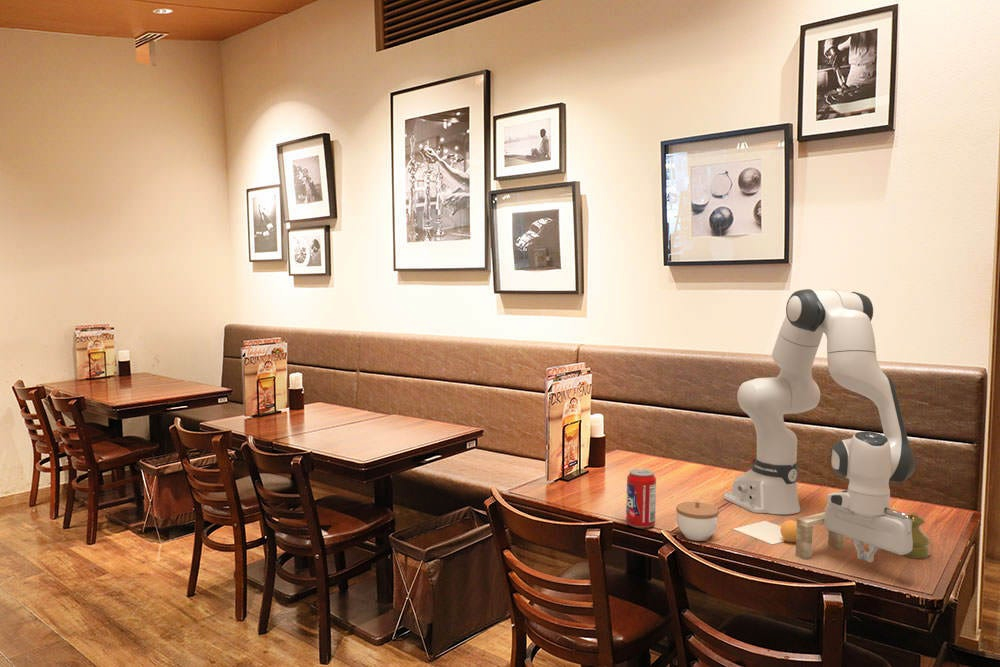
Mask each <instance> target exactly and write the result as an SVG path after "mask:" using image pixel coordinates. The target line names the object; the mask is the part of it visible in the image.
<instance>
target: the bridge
mask: <svg viewBox="0 0 1000 667" xmlns="http://www.w3.org/2000/svg"><path fill="white" fill-rule="evenodd" d="M824 516H825V511H824V512H820V513H815V514H811V515H807V516H803V517H800V518H797V519H796V522H797V533H796V542H795V556H796V557H798V558H801V559H802V560H807V561H808V560H810V559H812V556H813V555H812V554H813V532H814V529H813V527H815V526H818V525H823V524H824ZM827 531H828V535H827V547H829V548H832V549H835V550H837V551H839V550H844V545H845V536H844V535H841V534H838V533H835V532H832V531H829V530H827Z"/></svg>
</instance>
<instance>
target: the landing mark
mask: <svg viewBox="0 0 1000 667" xmlns="http://www.w3.org/2000/svg"><path fill="white" fill-rule="evenodd" d="M781 526H782V525H778V524H776V523H772V522H769V521H767V520H762V521H759V522H755V523H751V524H747V525H742V526H739V527H735V528H732V530H733V531H736V532H738V533H739V534H740V533H741V534H743V535H745V536H746V535H747V536H748V537H751V538H754V539H756V540H758V541H761V542H764V543H766V544H769V545H770V546H774V545H777V544H781V542H782V543H785V542H788V541H787V540H785V539H784V538H783V537H782V535H781V532H780V529H781ZM784 541H785V542H784Z"/></svg>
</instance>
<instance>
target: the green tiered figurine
mask: <svg viewBox="0 0 1000 667" xmlns="http://www.w3.org/2000/svg"><path fill="white" fill-rule="evenodd" d="M906 516H908V517H909V518H910V519H911V521H912V540H913V549H912V551H911V552H909V553H908V554H905V555H901V557H905V558H908V559H915V560H923V559H927V558H928V557H929V554H930V547H929V545H930V541H931V540H930V538H929V537H928V536H927V535H926V534H925V533H924V532H922V530H921V529H920V527H921V526H922V525H924V524H925V522H926V520H925V519H924V518H923V517H921V516H919V515H918V514H916V513H909V514H906ZM906 519H907V518H906Z"/></svg>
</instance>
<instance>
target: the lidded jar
mask: <svg viewBox="0 0 1000 667" xmlns="http://www.w3.org/2000/svg"><path fill="white" fill-rule="evenodd" d="M675 509H676V510H675V511H676V522H677V526H678V528H679V530H680V532H681V533H682V535H684V537H685V538H686V539H688V540H692V541H694V542H695V541H697V542H702V541H707V540H709V538H710V537H711V536H712V535H713V534H714V533H715V532H716V529H717V526H718V522H719V508H718V507H716V506H715V505H713V504H709V503H706V502H700V501H697V500H696V501H685V502H681V503H678V504H677V505H676V508H675Z"/></svg>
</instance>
